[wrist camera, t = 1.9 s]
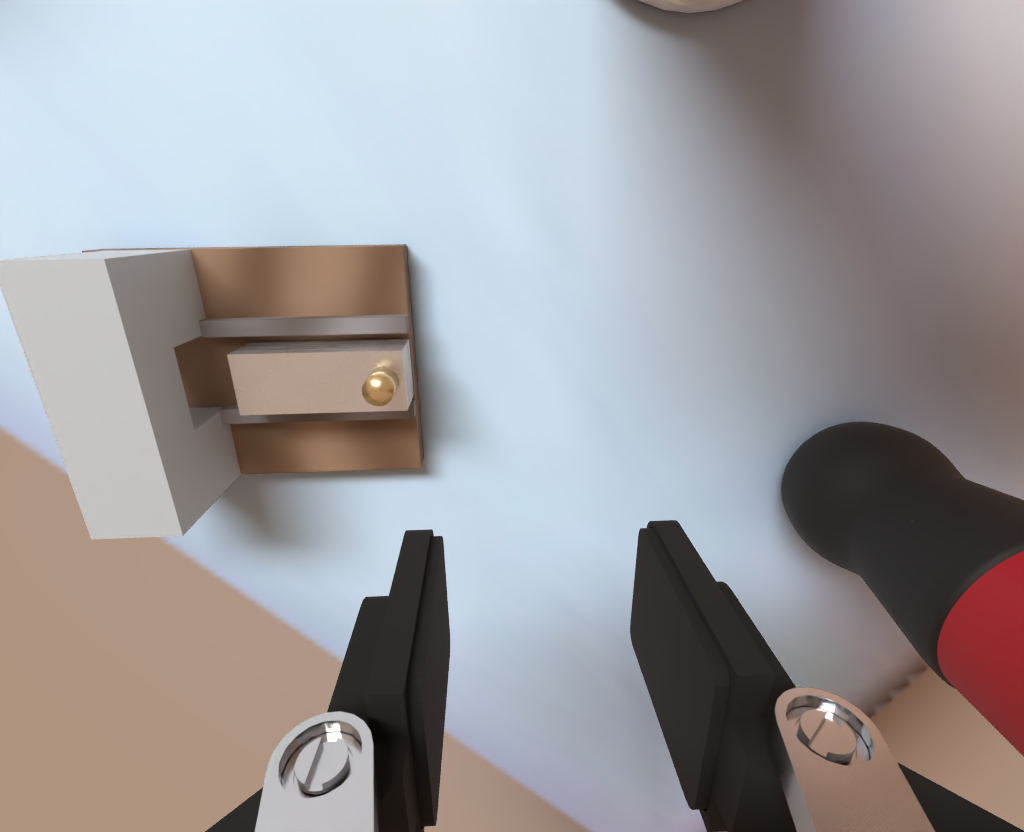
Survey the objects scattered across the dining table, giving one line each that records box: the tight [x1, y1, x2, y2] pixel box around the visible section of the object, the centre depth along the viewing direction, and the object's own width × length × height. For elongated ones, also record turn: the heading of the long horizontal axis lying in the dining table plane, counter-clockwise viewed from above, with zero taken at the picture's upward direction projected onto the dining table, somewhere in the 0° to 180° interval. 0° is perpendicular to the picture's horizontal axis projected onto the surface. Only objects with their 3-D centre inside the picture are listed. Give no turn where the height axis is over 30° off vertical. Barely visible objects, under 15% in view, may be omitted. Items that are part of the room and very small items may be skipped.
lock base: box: [82, 245, 424, 474], centre depth 27 cm, size 15×12×2 cm
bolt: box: [227, 339, 414, 415], centre depth 25 cm, size 8×3×4 cm, turn 91°
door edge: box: [0, 249, 241, 539], centre depth 24 cm, size 4×12×6 cm, turn 1°
